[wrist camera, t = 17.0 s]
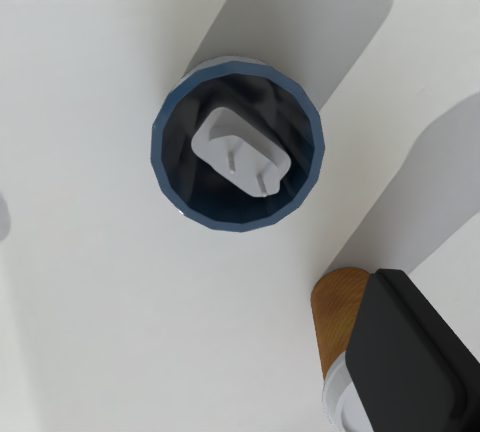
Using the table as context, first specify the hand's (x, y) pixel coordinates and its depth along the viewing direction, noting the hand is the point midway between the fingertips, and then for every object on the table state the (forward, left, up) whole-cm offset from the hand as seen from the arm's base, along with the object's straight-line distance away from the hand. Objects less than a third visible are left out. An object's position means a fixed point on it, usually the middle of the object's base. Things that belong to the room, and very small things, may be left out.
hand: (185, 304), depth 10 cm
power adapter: (0, +2, -21) cm, 21 cm away
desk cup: (0, +2, -21) cm, 21 cm away
